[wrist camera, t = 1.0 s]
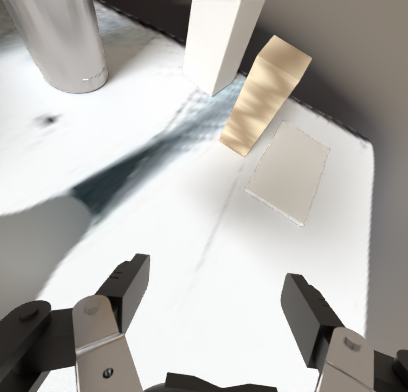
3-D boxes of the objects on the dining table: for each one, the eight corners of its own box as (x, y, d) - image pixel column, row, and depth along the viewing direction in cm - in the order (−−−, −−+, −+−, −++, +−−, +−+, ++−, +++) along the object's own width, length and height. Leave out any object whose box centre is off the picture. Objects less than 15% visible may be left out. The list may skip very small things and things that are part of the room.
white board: (244, 190, 31) (246, 188, 30) (280, 123, 38) (283, 119, 38) (301, 226, 31) (304, 225, 30) (326, 151, 38) (330, 148, 37)
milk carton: (181, 74, 38) (205, -101, 20) (205, 60, 41) (243, -102, 24) (210, 98, 37) (260, -62, 20) (233, 81, 40) (293, -69, 23)
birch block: (218, 140, 33) (257, 55, 21) (231, 122, 36) (274, 34, 23) (244, 157, 33) (299, 80, 21) (256, 137, 36) (312, 58, 23)
